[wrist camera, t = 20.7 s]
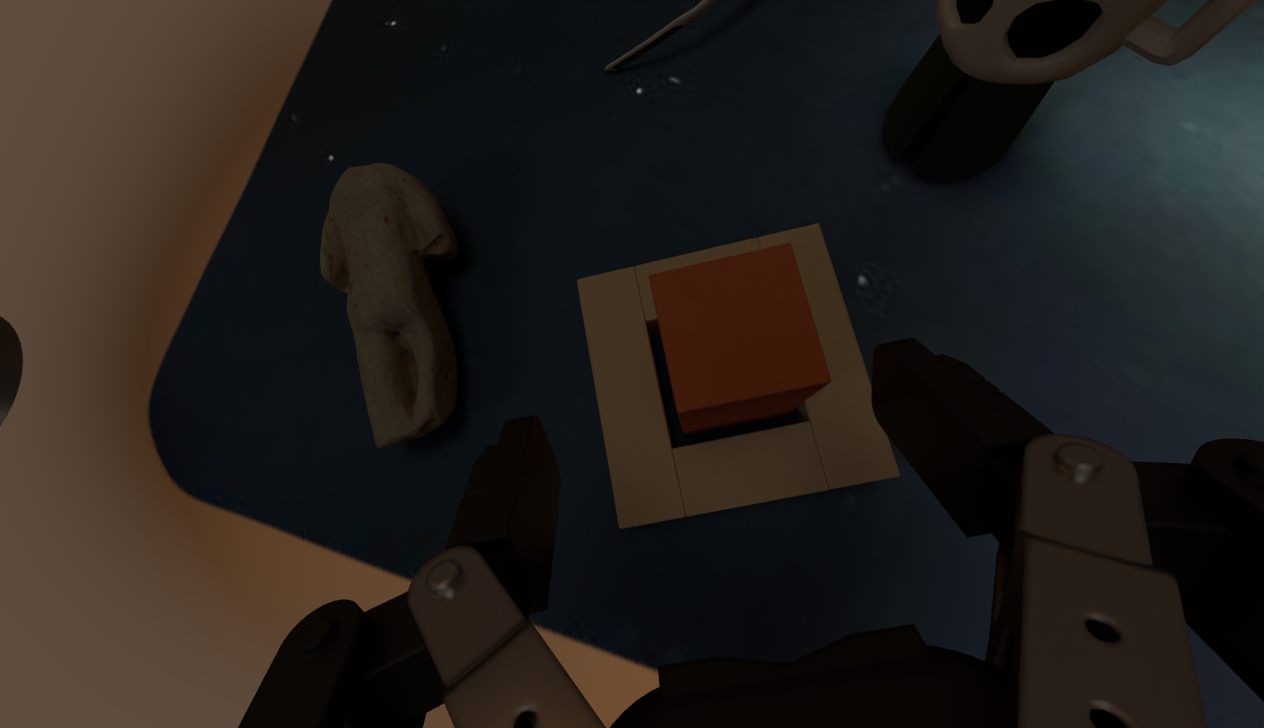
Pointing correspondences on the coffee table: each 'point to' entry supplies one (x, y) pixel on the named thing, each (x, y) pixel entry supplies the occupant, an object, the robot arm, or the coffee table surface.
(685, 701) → the robot arm
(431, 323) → the sculpture
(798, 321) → the post
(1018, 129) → the character mug
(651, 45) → the sunglasses
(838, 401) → the base pad
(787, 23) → the coffee table surface
